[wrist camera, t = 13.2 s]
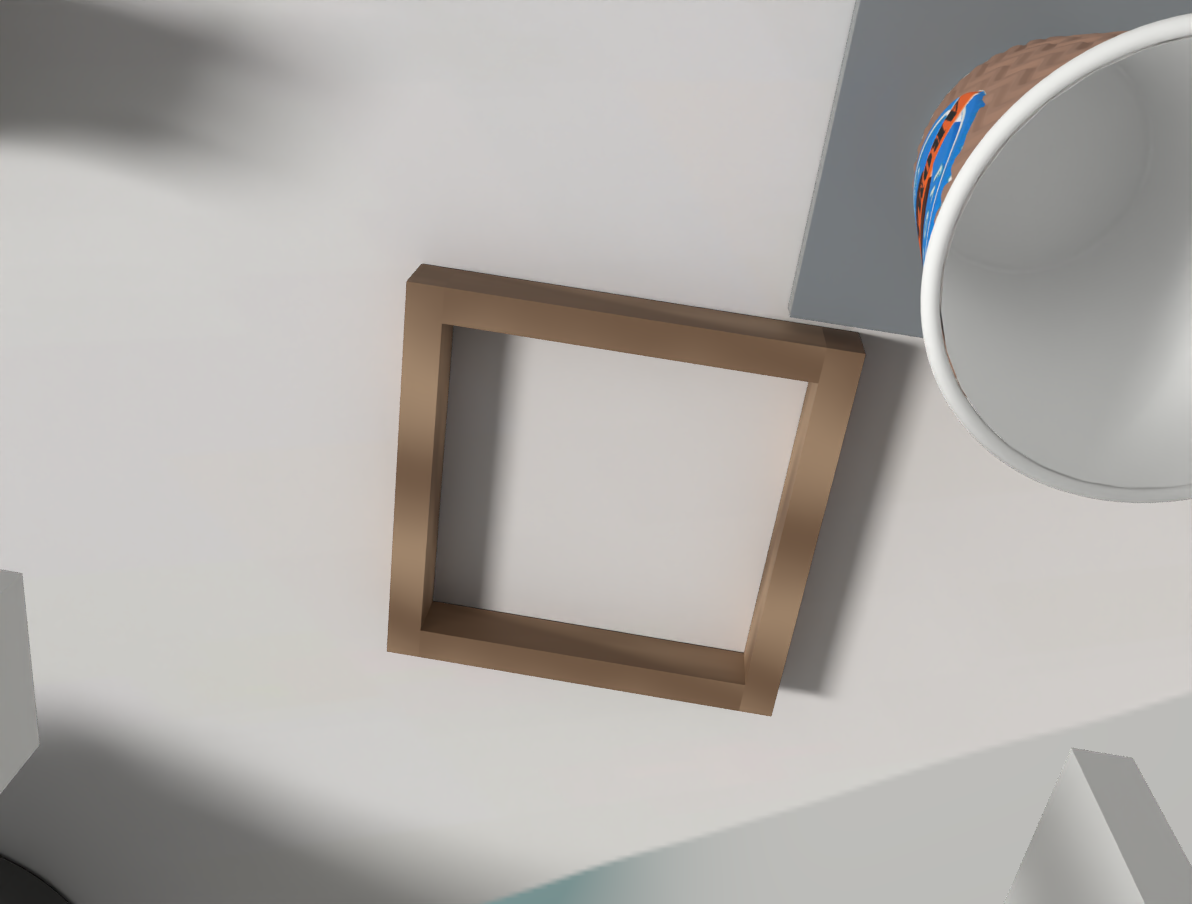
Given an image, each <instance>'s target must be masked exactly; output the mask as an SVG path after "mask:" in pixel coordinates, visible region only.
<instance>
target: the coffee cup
mask: <svg viewBox="0 0 1192 904" xmlns="http://www.w3.org/2000/svg"><path fill="white" fill-rule="evenodd" d="M917 151H918V156H917V161H916V162H915V163H914V179H913V182H912V187H913V203H914V214H915V221H916V227H917V234H918V240H919V246H920V252H921V259H922V265H923V274H922V283H921V323H922V331H923V338H924V344H925V348H926V353H927V356H928V360H929V363H930V366H931V369H932V372H933V375H934V377H935V380H936V382H937V384H938V386H939V389H940V391H941V393H942V395H943V396H944V398H945V400H946V402H947V404H948V405H949V407H950V408H951V410H952V411H953V413H954V414H955V416H956V417H957V418H958V420H959V421H960V422H961V424H962V425H963V426H964V427H965V429H966V430H967V431H968V432H969V433H970V434H971V435H972V436H973V437H974V438H975V439H976V440H977V441H978V442H979V443H980V444H981V445H982V446H983V447H984V448H985V449H987V450H988V451H989V452H990V453H991V454H992V455H994V456H995V457H996V458H998V459H999V460H1000V461H1002V462H1003V463H1005V464H1006V465H1008V466H1009V467H1011V468H1013V469H1014V470H1016V471H1018V472H1020V473H1021V474H1023V475H1025V476H1027V477H1029V478H1031V479H1033V480H1035V481H1037V482H1040V483H1042V484H1045V485H1047V486H1050V487H1053V488H1055V489H1058V490H1061V491H1065V492H1068V493H1072V494H1075V495H1079V496H1084V497H1088V498H1093V499H1100V500H1106V501H1115V502H1129V503H1156V502H1171V501H1179V500H1187V499H1192V13H1190V14H1185V15H1180V16H1175V17H1171V18H1168V19H1164V20H1160V21H1156V22H1153V23H1150V24H1147V25H1144V26H1141V27H1138V28H1135V29H1133V30H1129V31H1117V32H1109V33H1092V34H1080V35H1072V36H1064V37H1063V36H1056V37H1049V38H1047V39H1045V40H1044V39H1037V40H1032V41H1029V42H1028V43H1027V44H1026V45H1024V46H1023V45H1016V46H1013V47H1011V48H1009V49H1008V50H1007V51H1005V52H1004V53H999V54H996V55H994V56H992V57H991V58H990V60H988V61H986V62H984V63H983V64H981V65H978V66H977V67H975V68H974V69H973V70H972V71H971V72H970V73H969V74H967V75H966V76H965V77H964V78H962V79H961V80H960V81H959V82H958V84H957V85H956V86H955V87H954V88H953V89H952V90H951V91H950V92H949V93H948V94H947V95H946V96H945V98H944V99H943V101H942V102H941V103H940V105H939V106H938V108H937V109H936V110H935V112H934V113H933V115H932V117H931V120H930V122H929V124H928V126H927V127H926V128H925V130H924V134H923V137H922V141H921V143H920V144H919V146H918V149H917ZM955 377H956V378H955ZM956 379H957V380H956ZM957 381H958V382H957ZM965 396H966V397H967V398H968V399H969V401H970V402H971V404H972V405H973V407H974V408H975V410H976V411H977V413H978V414H979V415H978V414H977V413H976V411H975V410H974V409H973V407H972V406H971V404H970V403H969V401H968V400H967V398H966V397H965ZM980 417H981V418H980ZM995 432H996V433H997V434H998V435H999V436H1000V437H1001V438H1002V439H1001V438H1000V437H999V436H998V435H997V434H996V433H995Z"/></svg>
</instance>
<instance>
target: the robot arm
mask: <svg viewBox="0 0 1192 904" xmlns="http://www.w3.org/2000/svg"><path fill="white" fill-rule="evenodd" d="M39 745H40V742H39V733H38V723H37V713H36V703H35V693H34V684H33V674H32V664H31V654H30V645H29V635H28V625H27V615H26V605H25V596H24V586H23V576H22V573H18V572H12V571H6V570H0V794H1V793H2V791H3V790H4V789H5V788H6V786H7V785H8V784H9V783H10V781H11V780H12V779H13V778H14V776H15V775H16V774H17V773H18V772H19V770H20V769H21V768H22V767H23V765H24V764H25V763H26V762H27V760H28V759H29V758H30V757H31V755H32V754H33V753H34V752H35V750H36V749H37V748H38V747H39ZM0 904H69V903H68V902H67V901H66V900H65V899H63V898H62V897H61V896H60V895H59V894H58V893H57V892H56V891H54V890H53V889H52V888H51V887H49V886H48V885H47V884H45V883H44V882H43V881H41V880H40V879H39V878H37V877H35V876H34V875H32V874H31V873H29V872H28V871H26V870H24V869H23V868H21V867H19V866H17V865H16V864H14V863H12V862H10V861H8V860H6V859H4V858H2V857H0ZM1004 904H1192V866H1191V864H1190V863H1189V861H1188V859H1187V857H1186V855H1185V853H1184V852H1183V850H1182V848H1181V846H1180V844H1179V842H1178V840H1177V838H1176V837H1175V835H1174V833H1173V831H1172V830H1171V827H1170V826H1169V824H1168V822H1167V820H1166V818H1165V816H1164V814H1163V813H1162V811H1161V809H1160V807H1159V805H1158V804H1157V802H1156V800H1155V798H1154V796H1153V794H1152V792H1151V790H1150V789H1149V787H1148V785H1147V783H1146V781H1145V779H1144V778H1143V776H1142V774H1141V772H1140V770H1139V768H1138V767H1137V765H1136V763H1135V761H1134V759H1133V758H1130V757H1124V756H1117V755H1111V754H1106V753H1099V752H1093V751H1088V750H1082V749H1076V748H1071V750H1070V752H1069V754H1068V757H1067V759H1066V761H1065V763H1064V766H1063V768H1062V771H1061V773H1060V775H1059V777H1058V780H1057V782H1056V785H1055V787H1054V789H1053V791H1052V794H1051V796H1050V798H1049V800H1048V803H1047V805H1046V807H1045V810H1044V812H1043V814H1042V817H1041V819H1040V821H1039V823H1038V826H1037V828H1036V831H1035V833H1034V835H1033V838H1032V840H1031V842H1030V844H1029V847H1028V849H1027V851H1026V853H1025V856H1024V858H1023V860H1022V863H1021V865H1020V867H1019V870H1018V872H1017V874H1016V877H1015V879H1014V881H1013V884H1012V886H1011V888H1010V890H1009V893H1008V895H1007V897H1006V900H1005V902H1004Z"/></svg>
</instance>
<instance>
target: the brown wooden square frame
mask: <svg viewBox="0 0 1192 904" xmlns="http://www.w3.org/2000/svg"><path fill="white" fill-rule="evenodd" d="M453 325H455V326H461V327H467V328H473V329H480V330H486V331H492V332H499V333H505V334H511V335H517V336H524V337H530V338H536V339H542V340H549V341H555V342H561V343H568V344H574V345H580V346H586V347H593V348H599V349H605V350H612V351H618V352H624V353H630V354H637V355H643V356H649V357H655V358H662V359H668V360H674V361H681V362H687V363H693V364H699V365H706V366H712V367H718V368H724V369H731V370H737V371H743V372H750V373H756V374H762V375H768V376H775V377H781V378H787V379H794V380H800V381H806V382H808V387H807V391H806V395H805V399H804V403H803V408H802V412H801V416H800V420H799V424H798V429H797V433H796V437H795V441H794V445H793V450H792V454H791V458H790V462H789V466H788V471H787V475H786V479H785V483H784V487H783V491H782V496H781V500H780V504H779V508H778V512H777V517H776V521H775V525H774V529H773V533H772V538H771V542H770V546H769V550H768V554H767V559H766V563H765V567H764V571H763V575H762V580H761V584H760V588H759V592H758V596H757V601H756V605H755V609H754V613H753V617H752V622H751V626H750V630H749V634H748V638H747V643H746V647H745V651H744V653H740V652H734V651H728V650H722V649H716V648H710V647H704V646H698V645H692V644H686V643H680V642H674V641H668V640H662V639H656V638H650V637H644V636H638V635H632V634H626V633H620V632H614V631H608V630H602V629H596V628H590V627H584V626H578V625H572V624H566V623H560V622H554V621H548V620H543V619H537V618H531V617H525V616H519V615H513V614H507V613H501V612H495V611H489V610H483V609H477V608H471V607H465V606H459V605H453V604H447V603H441V602H435V601H433V590H434V576H435V563H436V550H437V537H438V523H439V510H440V497H441V483H442V470H443V457H444V443H445V430H446V417H447V403H448V390H449V377H450V363H451V350H452V337H453ZM865 355H866V353H865V350H864V347H863V344H862V341H861V338H860V336H859V333H857V332H851V331H844V330H838V329H832V328H825V327H819V326H813V325H806V324H800V323H793V322H787V321H781V320H774V319H768V318H762V317H755V316H749V315H743V314H736V313H730V312H724V311H717V310H711V309H705V308H698V307H692V306H686V305H679V304H673V303H667V302H660V301H654V300H648V299H641V298H635V297H629V296H622V295H616V294H610V293H603V292H597V291H591V290H584V289H578V288H572V287H565V286H559V285H553V284H546V283H540V282H534V281H527V280H521V279H514V278H508V277H502V276H495V275H489V274H483V273H476V272H470V271H464V270H457V269H451V268H445V267H438V266H432V265H426V264H421V265H420V266H419V267H418V269H417V270H416V271H415V272H414V273H413V274H412V276H411V277H410V278H409V279H408V280H407V283H406V302H405V321H404V340H403V358H402V377H401V396H400V415H399V433H398V452H397V471H396V489H395V508H394V527H393V546H392V564H391V583H390V602H389V621H388V639H387V652H393V653H399V654H405V655H411V656H417V657H423V658H429V659H435V660H441V661H446V662H452V663H458V664H464V665H470V666H476V667H482V668H488V669H494V670H500V671H506V672H512V673H517V674H523V675H529V676H535V677H541V678H547V679H553V680H559V681H565V682H571V683H577V684H583V685H588V686H594V687H600V688H606V689H612V690H618V691H624V692H630V693H636V694H642V695H648V696H653V697H659V698H665V699H671V700H677V701H683V702H689V703H695V704H701V705H707V706H713V707H719V708H724V709H730V710H736V711H742V712H748V713H754V714H760V715H766V716H772V712H773V708H774V704H775V700H776V696H777V693H778V689H779V685H780V681H781V677H782V673H783V670H784V666H785V662H786V658H787V654H788V650H789V647H790V643H791V639H792V635H793V631H794V627H795V624H796V620H797V616H798V612H799V608H800V604H801V601H802V597H803V593H804V589H805V585H806V581H807V578H808V574H809V570H810V566H811V562H812V558H813V555H814V551H815V547H816V543H817V539H818V535H819V532H820V528H821V524H822V520H823V516H824V512H825V509H826V505H827V501H828V497H829V493H830V489H831V486H832V482H833V478H834V474H835V470H836V466H837V463H838V459H839V455H840V451H841V447H842V443H843V440H844V436H845V432H846V428H847V424H848V420H849V417H850V413H851V409H852V405H853V401H854V397H855V394H856V390H857V386H858V382H859V378H860V374H861V371H862V367H863V363H864V359H865Z"/></svg>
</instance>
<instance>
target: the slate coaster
mask: <svg viewBox="0 0 1192 904" xmlns="http://www.w3.org/2000/svg"><path fill="white" fill-rule="evenodd" d="M1190 13H1192V0H856V3H855V7H854V12H853V16H852V21H851V25H850V30H849V34H848V39H847V43H846V48H845V52H844V57H843V61H842V66H841V70H840V75H839V79H838V84H837V88H836V93H835V97H834V102H833V106H832V111H831V115H830V120H829V124H828V129H827V134H826V138H825V143H824V147H823V152H822V156H821V161H820V165H819V170H818V174H817V179H816V183H815V188H814V192H813V197H812V201H811V206H810V210H809V215H808V219H807V224H806V228H805V233H804V237H803V242H802V246H801V251H800V255H799V260H798V264H797V269H796V273H795V278H794V283H793V287H792V292H791V296H790V301H789V305H788V310H789V315H790V317H793V318H800V319H806V320H812V321H819V322H825V323H831V324H838V325H844V326H850V327H857V328H863V329H869V330H876V331H882V332H888V333H895V334H901V335H907V336H914V337H920V338H923V331H922V323H921V283H922V274H923V265H922V259H921V252H920V246H919V240H918V234H917V227H916V221H915V214H914V203H913V187H912V182H913V179H914V163H915V162H916V161H917V156H918V151H917V149H918V146H919V144H920V143H921V141H922V137H923V134H924V130H925V128H926V127H927V126H928V124H929V122H930V120H931V117H932V115H933V113H934V112H935V110H936V109H937V108H938V106H939V105H940V103H941V102H942V101H943V99H944V98H945V96H946V95H947V94H948V93H949V92H950V91H951V90H952V89H953V88H954V87H955V86H956V85H957V84H958V82H959V81H960V80H961V79H962V78H964V77H965V76H966V75H967V74H969V73H970V72H971V71H972V70H973V69H974V68H975V67H977V66H978V65H981V64H983V63H984V62H986V61H988V60H990V58H991V57H992V56H994V55H996V54H999V53H1004V52H1005V51H1007V50H1008V49H1009V48H1011V47H1013V46H1016V45H1023V46H1024V45H1026V44H1027V43H1028V42H1029V41H1032V40H1037V39H1044V40H1045V39H1047V38H1049V37H1056V36H1063V37H1064V36H1072V35H1080V34H1092V33H1109V32H1117V31H1129V30H1133V29H1135V28H1138V27H1141V26H1144V25H1147V24H1150V23H1153V22H1156V21H1160V20H1164V19H1168V18H1171V17H1175V16H1180V15H1185V14H1190Z"/></svg>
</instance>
